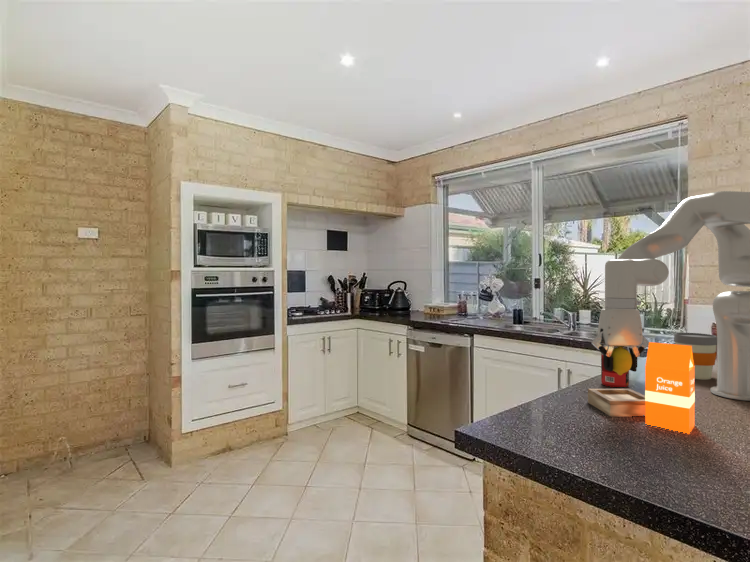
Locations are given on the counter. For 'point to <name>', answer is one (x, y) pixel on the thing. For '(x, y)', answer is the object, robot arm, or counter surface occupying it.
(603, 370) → the canned food
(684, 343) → the reusable coffee cup
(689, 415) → the orange juice
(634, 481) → the counter surface
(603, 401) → the square wooden box
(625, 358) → the lemon
